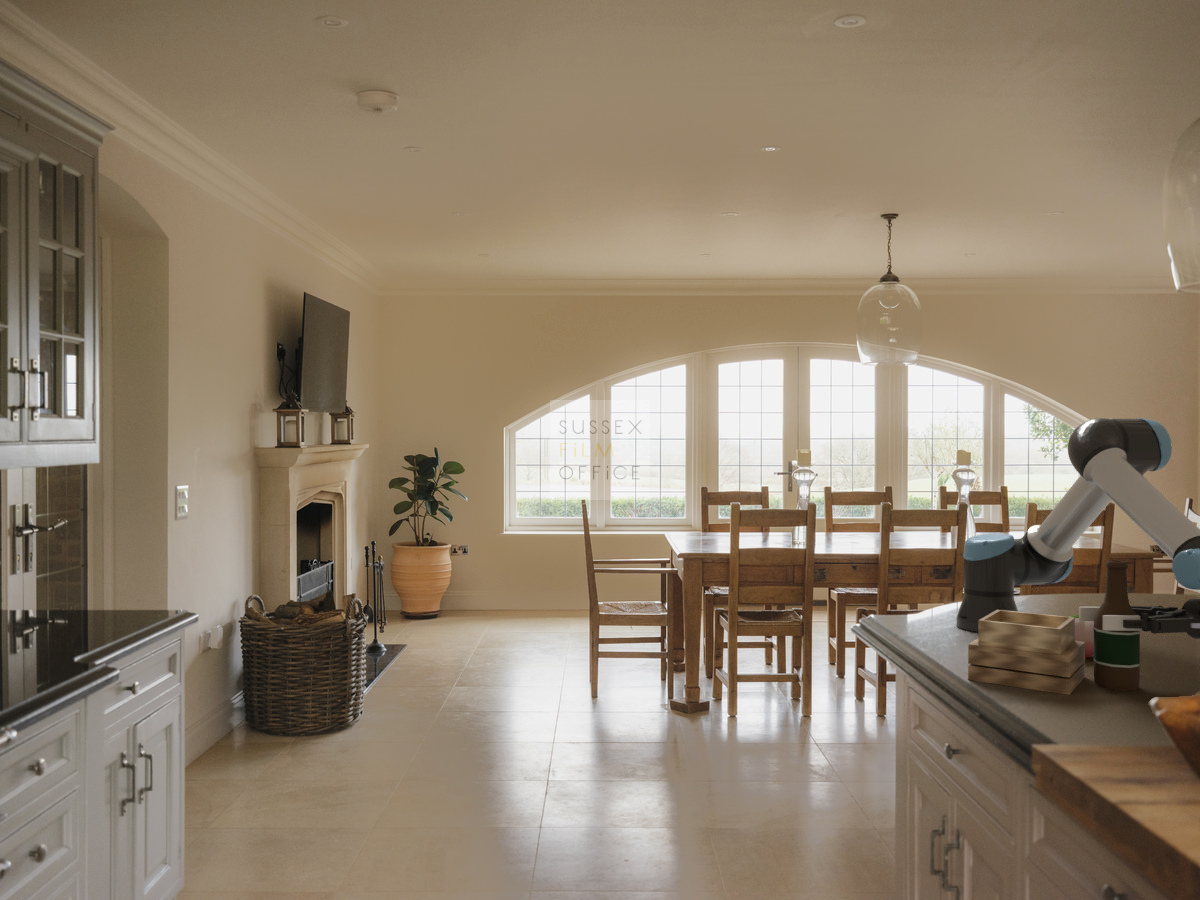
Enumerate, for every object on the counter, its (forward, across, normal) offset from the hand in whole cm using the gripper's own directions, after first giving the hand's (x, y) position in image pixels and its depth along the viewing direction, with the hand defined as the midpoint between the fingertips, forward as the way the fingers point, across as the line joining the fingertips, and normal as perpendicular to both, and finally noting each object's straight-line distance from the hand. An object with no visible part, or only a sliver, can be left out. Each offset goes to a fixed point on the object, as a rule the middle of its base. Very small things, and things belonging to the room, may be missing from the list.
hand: (1091, 618), depth 175 cm
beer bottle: (-5, 0, -13) cm, 14 cm away
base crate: (+10, +5, -13) cm, 17 cm away
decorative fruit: (-10, +24, -13) cm, 29 cm away
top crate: (+10, +5, -6) cm, 13 cm away
